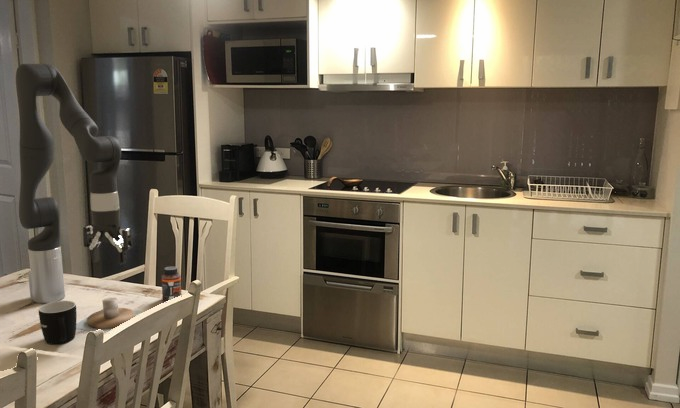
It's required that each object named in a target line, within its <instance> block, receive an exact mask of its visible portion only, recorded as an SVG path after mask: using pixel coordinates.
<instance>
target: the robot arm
mask: <svg viewBox="0 0 680 408" xmlns="http://www.w3.org/2000/svg"><path fill="white" fill-rule="evenodd" d="M15 86H16V87H15V88H16V96H17V104H18V117H19V121H18V122H19V142H18V143H19V144H18V145H19V167H20V185H19V199H18V200H19V201H18V218H19V223H20V224H21V227H22V228H24V229H25V230H30V229H31V230H32V229H40V228H43V230H42V231H40V232H39V233H38V234H37V235H34V236H33V237H30V239H28V241H27V249H28V250H27V251H28V258H29V259H28V260H29V268H30V270H29V271H28V272H27V275H28V285H29V295H30V300H31V301H33V302H34V303H38V304H47V303H50V302H55V301H62V300H63V299H64V298H65V297H66V293H65V292H66V290H65V280H64V279H65V278H64V268H63V267H64V266H63V257H62V256H63V255H62V248H61V214H60V206H59V203H58V201H57V200H56V199H55V198H54V197H53V196H46V197H37V198H36V194H37V189H38V187H39V185H40V183H41V182H42V180H43V179H44V177H45V175H46V174H47V173H48V171H49V170H50V169H51V167H52V165H53V163H54V160H55V141H54V137H53V135H52V132H51V131H50V130H49V128H48V127H47V125H46V124H45V123H44V121H43V119H42V118H41V116H40V114H39V111H38V105H37V97H49V96H51V97H54V99H56V101H58V103H59V109H58V112H59V113H58V116H59V119H60V122H61V124H62V125H63V126H64V128H65V129H66V130H67V132H68V134H70V136H71V137H73V139H74V141H75V144H76V146H77V148H78V152H79V153H80V156H81V158H83V159H84V160H85V161H86V162H88V163H90V164H92V163H93V164H96V163H101V165H100V167H99V168H97V170H94V171H92V172H91V173H90V174H89V187H90V190H89V191H90V198H89V200H90V201H89V202H90V214H91V224H92V225H93V226H92V225H88V226H86V225H85V226H84V227H83V228H82V229H83V232H82V234H83V235H82V237H83V247H84V248H87V249H89V251H90V259H91V261H92V263H97V262H99V261H100V260H101V259H100V248H99V246H100V245H101V244H104V243H106V244H111V245H113V246H114V247H115V248H116V249H117V251H118V252H117V257H118V259H117V260H118V264H119V265H125V264H126V262H127V261H128V258H127V251H129V250H131V249H133V246H134V245H133V239H132V230H131V228H130V227H127V228H121V207H120V198H119V193H118V181H117V180H118V179H117V177H118V172H119V167H120V162H121V158H122V146H121V144H120V141H119V139H117V138H116V137H115V136H111V135H106V136H103V135H102V136H97V135H98V134H99V127H98V125H97V124H96V122H95V121H94V120H93V119H92V118H91V117H90V115H89V114H88V113H87V112H86V111H85V110H84V109H83V107H82V106H81V105H80V103H79V102H78V100H77V98H76V96H75V95H74V93H73V91H72V89H71V88H70V87H69V84H68V83H67V81H66V79H65V78H64V77H63V74H62V73H61V72H60V71H59V69H57V67H56V66H55V65H52V64H50V63H22V64H19V65H18V67H17V69H16V72H15ZM93 236H94V237H93Z"/></svg>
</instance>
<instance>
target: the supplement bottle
mask: <svg viewBox="0 0 680 408" xmlns="http://www.w3.org/2000/svg"><path fill="white" fill-rule="evenodd" d="M163 271H164V274H162V275H161V292H162V293H161V295H162V302H164V303H166V302H165V301H168V300H171V299H173V298H175V297H178V296H180V295H181V296H182V276H181V274H180V273H179V272H178V267H177V266H166V267H164V270H163Z"/></svg>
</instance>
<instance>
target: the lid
mask: <svg viewBox="0 0 680 408" xmlns="http://www.w3.org/2000/svg"><path fill="white" fill-rule="evenodd" d="M102 309H103V310H102ZM102 309H100V310H101V311H100V310H98V311H95V312H93V313H92V314H89V316H88V317H86V318H87V324H88V326H90V327H92V328H96V329H111V328H115V327H117V326H119V325H120V324H122V323H124V322H126V321H128V320H130V319H131V318H133V317H135V312H134V311H135V310H133V309H131V308H128V307H127V308H125V307H119V302H118V298H117V297H107V298H104V299H102Z"/></svg>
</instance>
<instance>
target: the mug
mask: <svg viewBox="0 0 680 408" xmlns="http://www.w3.org/2000/svg"><path fill="white" fill-rule="evenodd" d="M38 318H39V323H40V328H41V332H42V336H43V339H44V341H45V343H46V344H47V345H52V346H57V345H58V346H59V345H64V344H67V343H69V342H72V341H73V340H74V339H75V338H76V332H77V329H76V324H77V304H76V302H74V301H73V300H58V301H54V302H49V303H43V305H41V306H39V308H38Z"/></svg>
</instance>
